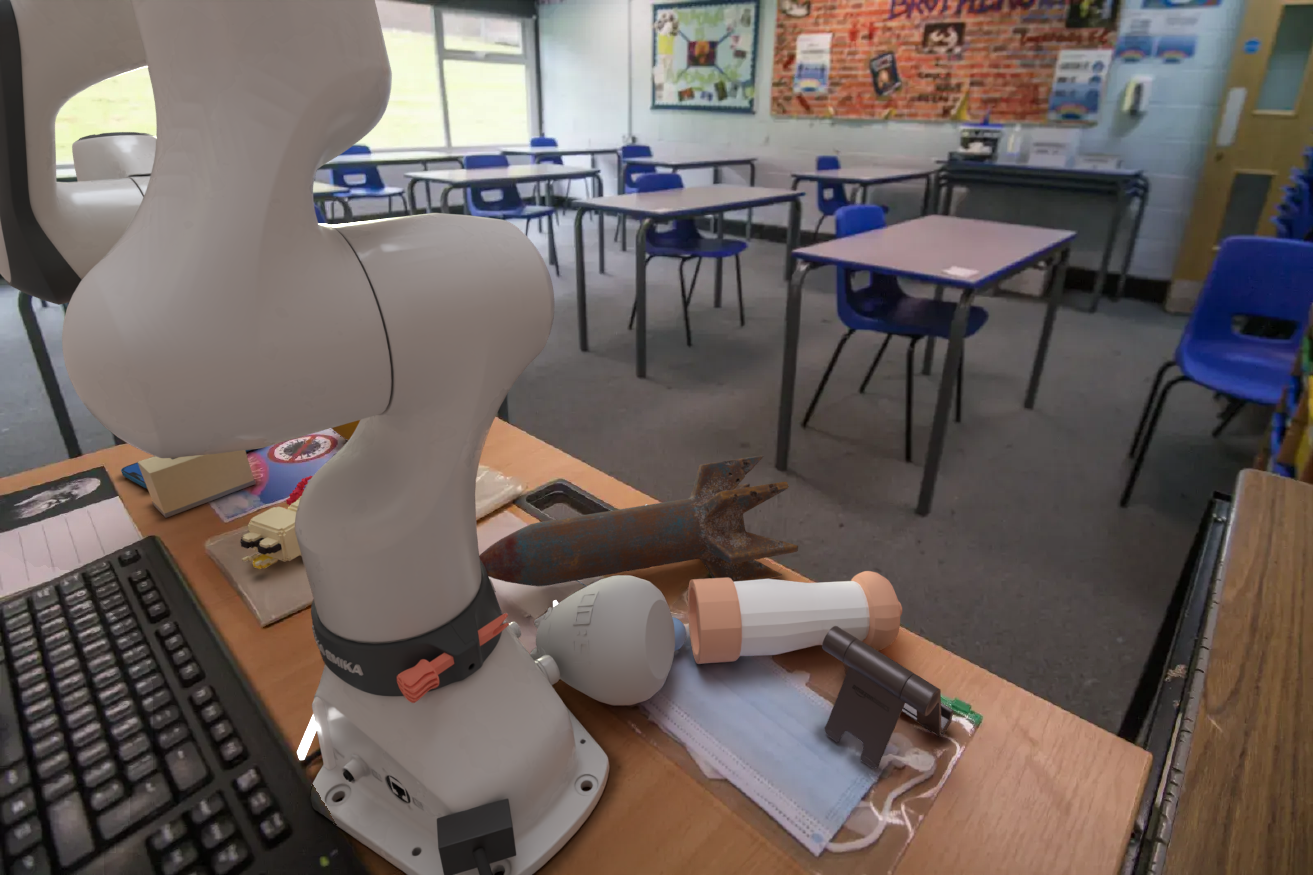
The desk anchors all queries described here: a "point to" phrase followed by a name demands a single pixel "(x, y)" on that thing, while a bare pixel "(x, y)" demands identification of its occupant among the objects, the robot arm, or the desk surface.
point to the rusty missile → (648, 536)
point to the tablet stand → (878, 697)
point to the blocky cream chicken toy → (274, 532)
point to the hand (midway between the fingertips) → (203, 410)
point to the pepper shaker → (787, 615)
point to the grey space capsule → (610, 639)
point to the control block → (194, 479)
